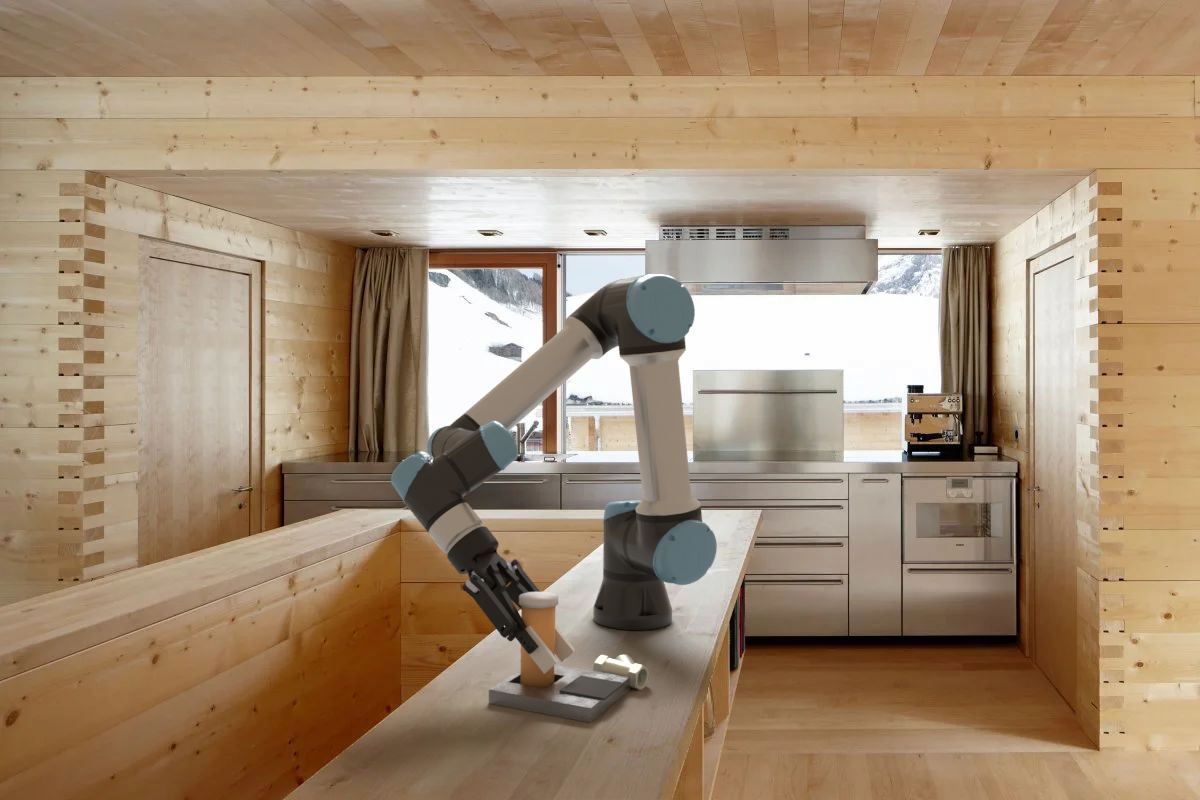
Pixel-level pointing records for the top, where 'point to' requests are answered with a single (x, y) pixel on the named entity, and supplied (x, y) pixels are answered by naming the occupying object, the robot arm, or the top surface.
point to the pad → (592, 687)
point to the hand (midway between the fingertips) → (560, 661)
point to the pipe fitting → (623, 669)
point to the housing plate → (557, 695)
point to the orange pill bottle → (542, 619)
